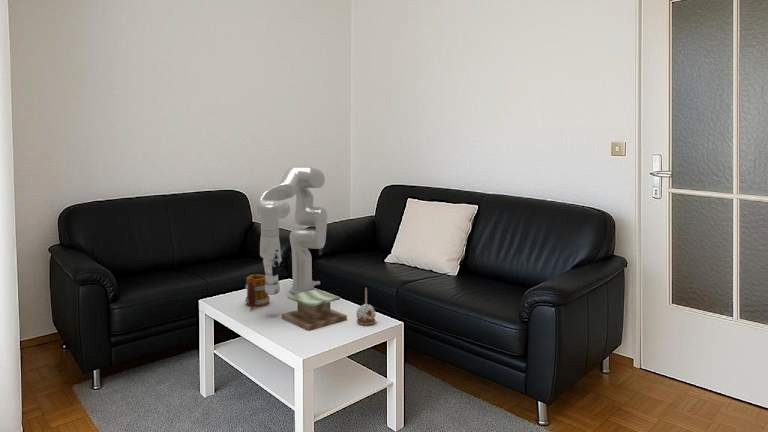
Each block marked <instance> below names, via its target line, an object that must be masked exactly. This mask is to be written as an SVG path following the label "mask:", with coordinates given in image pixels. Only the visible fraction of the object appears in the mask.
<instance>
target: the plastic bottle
mask: <svg viewBox="0 0 768 432" xmlns="http://www.w3.org/2000/svg"><path fill="white" fill-rule="evenodd" d="M274 259H276V258H274ZM274 262H276V260H275V261H274ZM262 263H263V270H264V269H265V272H264V274H265V288H264V289H265V292H266V294H268V296H274V295H278V294H279V293H280V291H281V285H280V281H279V275H274V276H273V275H272V266H273V264H272V260H271V261H270V260H267V259H265V258H264V261H263V260H262Z"/></svg>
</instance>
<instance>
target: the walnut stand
mask: <svg viewBox="0 0 768 432" xmlns="http://www.w3.org/2000/svg"><path fill="white" fill-rule="evenodd" d="M287 299H289V300H291V301H292V302H295V303H296V304H297V309H296V310H292V311H288V312H284V313H281V319H282V320H284V321H286V322H288V323H291V324H292V325H294V326H297V327H300V328H302V329H305V330H306V331H312V330H315V329H319V328H322V327H326V326H330V325H334V324H337V323H340V322H343V321H347V320H348V315H347V314H344V313H342V312H340V311H336V310H334V309H331V302H336V301H340V300H341V297H340V296H338V295H335V294H332V293H330V292H328V291H325V290H321V289H319V288H317V289H316V288H315V290H312V291H308V292H303V293H299V294H291V295H288V296H287Z"/></svg>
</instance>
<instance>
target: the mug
mask: <svg viewBox="0 0 768 432" xmlns="http://www.w3.org/2000/svg"><path fill="white" fill-rule="evenodd" d="M245 278H246V284H245V287H244V288H245V289H246V292H247V293H246V297H245V300H244V302H245V303H246V306H247V307H250V309H254V308H260V307H266V306H268V305H270V298H271V297H270V295H268V294H266V292H265V289H264V288H265V275H264V274H251V275H248V276H247V277H245Z"/></svg>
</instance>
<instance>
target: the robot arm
mask: <svg viewBox="0 0 768 432" xmlns="http://www.w3.org/2000/svg"><path fill="white" fill-rule="evenodd" d="M325 178H326V177H325V175H324V172H323V171H322V170H320V169H318V168H315V167H313V166H291V167H289V168H288V169H286V171H285V173H284V175H283V176H282V178H281V180H280V182H279V184H277V185H275V186H273V187H271V188H269V189H268V190H266V191H264V193H263V194H262V195H261V197H260V198H259V200H258V202H257V205H256V213H257V215H258V216H259V217H260V241H259V256H260V257H261V259H262V262H263V261H264V258H265V259H267V260H270V261H271V260H272V264H273V266H272V275H273V276H274V275H278V276H279V275H280V266H281V265H280V264H281V262H282V261H283V259H282V256H281V255H282V253H281V250H282V249H281V241H280V237H279V236H280V231H279V230H280V227H279V223H280V222H279V219H284V218H285V219H286V217H288V216H289V214H290V212H291V205H290V204H289V203H288V202H287V201H285V200H288V199H291V198H292V197H294V196H295V207H294V208H295V209H294V221H295V222H294V223H296V225H298V226H304V227H315V228H302V227H301V228H300V227H299V228H294V229H292V231H290V233H289V242H290V246H291V247H290V248H291V262H292V263H291V265H292V267H291V268H292V287H290V288H289V292H290V293H291V294H292V295H295V294H299V293H303V292H308V291H312V290H316V287H315V286H320V285H321V281H320V280H317V281H315V280H313V277H312V276H313V273H312V272H313V269H312V268H313V267H312V263H313V262H312V254H311V252H310V250H309V249H315V250H316V249H318V250H319V249H323V248H324V246H325V244H326V240H327V225H328V213H327V211H326V209H325V208H324V207H319V206H314V199H315V198H314V195H313V194H312V192H311V190H310V189H320V188H322V187H323V186H324V185H325V183H326V180H325ZM274 258H276V259H274ZM275 260H276V262H274V261H275ZM263 272H264V273H265V269H264V268H263Z"/></svg>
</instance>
